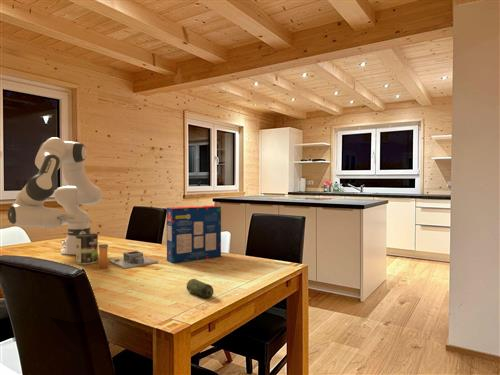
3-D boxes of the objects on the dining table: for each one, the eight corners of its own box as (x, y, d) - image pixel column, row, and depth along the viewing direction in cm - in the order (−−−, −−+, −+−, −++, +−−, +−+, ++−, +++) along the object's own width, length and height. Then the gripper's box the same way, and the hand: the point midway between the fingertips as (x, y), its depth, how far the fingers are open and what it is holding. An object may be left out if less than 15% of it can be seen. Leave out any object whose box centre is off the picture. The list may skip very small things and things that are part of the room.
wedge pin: (97, 267, 167) (97, 244, 167) (106, 266, 170) (106, 243, 170) (100, 269, 164) (100, 246, 164) (109, 267, 167) (109, 244, 167)
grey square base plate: (108, 262, 178) (108, 252, 177) (141, 257, 190) (141, 248, 190) (123, 268, 164) (123, 258, 164) (157, 262, 177) (157, 253, 177)
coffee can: (102, 260, 182) (102, 233, 182) (89, 265, 172) (89, 236, 172) (85, 259, 184) (84, 233, 184) (71, 264, 174) (71, 236, 174)
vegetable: (183, 292, 130) (183, 279, 130) (195, 289, 134) (195, 276, 134) (205, 301, 120) (205, 287, 120) (217, 298, 124) (217, 284, 124)
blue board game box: (214, 254, 197) (214, 205, 197) (221, 256, 190) (220, 206, 190) (166, 260, 181) (166, 207, 181) (172, 263, 175) (172, 208, 174)
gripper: (64, 209, 144) (96, 212, 155) (43, 212, 156) (74, 215, 167) (62, 224, 143) (95, 227, 153) (41, 226, 155) (72, 228, 166)
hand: (84, 221), depth 160 cm, fingers open, 8 cm apart
